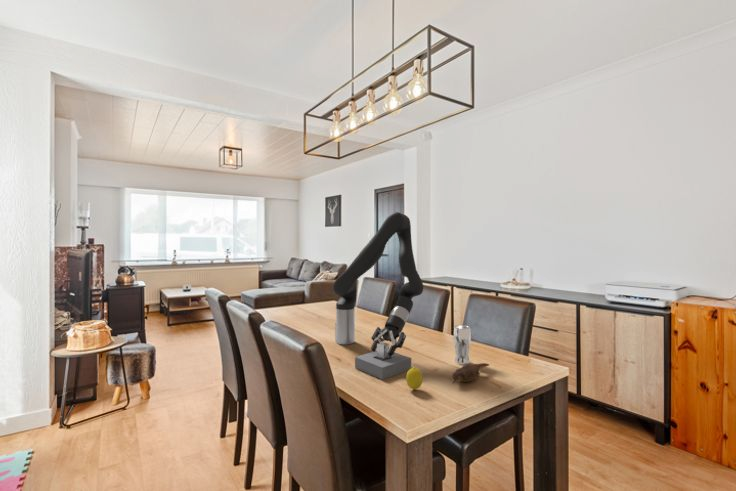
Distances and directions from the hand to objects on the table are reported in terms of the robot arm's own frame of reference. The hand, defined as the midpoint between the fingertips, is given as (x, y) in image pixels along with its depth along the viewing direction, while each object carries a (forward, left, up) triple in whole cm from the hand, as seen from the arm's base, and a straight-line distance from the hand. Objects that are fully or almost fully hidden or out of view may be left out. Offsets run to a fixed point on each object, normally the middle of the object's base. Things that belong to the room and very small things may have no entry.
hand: (380, 353), depth 143 cm
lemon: (+22, -5, -7) cm, 23 cm away
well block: (0, +1, -7) cm, 7 cm away
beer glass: (+17, +31, -7) cm, 36 cm away
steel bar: (0, +1, -7) cm, 7 cm away
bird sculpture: (+29, +18, -7) cm, 35 cm away
